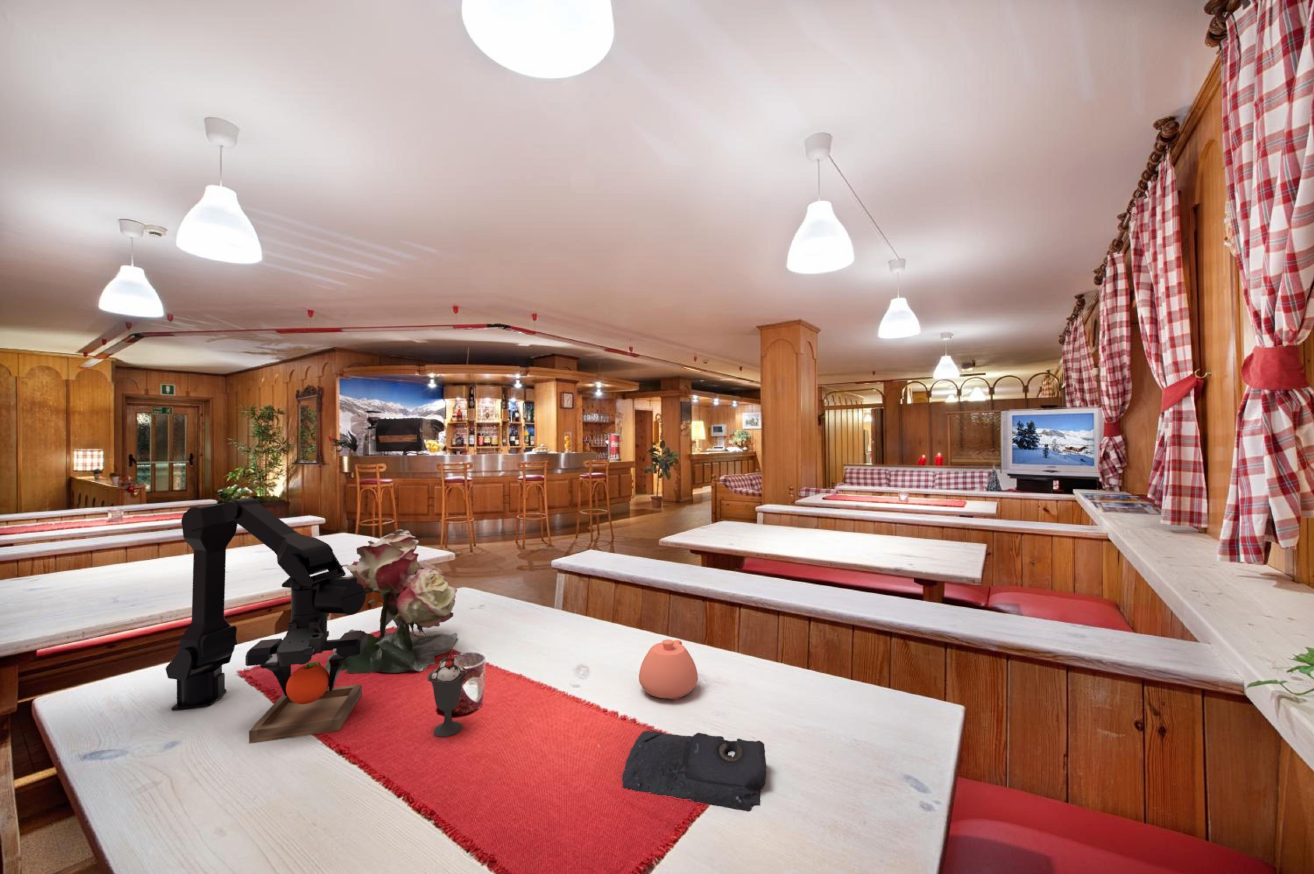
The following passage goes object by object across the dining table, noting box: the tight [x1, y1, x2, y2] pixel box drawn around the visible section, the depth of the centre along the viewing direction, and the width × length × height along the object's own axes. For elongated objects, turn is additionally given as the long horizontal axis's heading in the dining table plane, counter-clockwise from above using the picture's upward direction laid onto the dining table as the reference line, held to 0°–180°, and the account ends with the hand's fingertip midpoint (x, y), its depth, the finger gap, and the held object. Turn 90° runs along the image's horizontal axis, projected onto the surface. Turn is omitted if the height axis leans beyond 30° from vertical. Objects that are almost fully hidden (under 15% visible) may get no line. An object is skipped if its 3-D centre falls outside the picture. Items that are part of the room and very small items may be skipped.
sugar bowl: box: [638, 638, 699, 701], centre depth 109 cm, size 12×14×10 cm
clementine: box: [286, 661, 330, 704], centre depth 99 cm, size 8×7×7 cm
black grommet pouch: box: [621, 730, 767, 812], centre depth 82 cm, size 15×22×5 cm
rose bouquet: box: [323, 529, 458, 674], centre depth 130 cm, size 26×29×30 cm
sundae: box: [426, 648, 468, 738], centre depth 94 cm, size 7×7×15 cm
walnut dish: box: [248, 683, 363, 744], centre depth 99 cm, size 14×14×2 cm
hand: (309, 692), depth 99 cm, fingers closed on clementine, 7 cm apart
